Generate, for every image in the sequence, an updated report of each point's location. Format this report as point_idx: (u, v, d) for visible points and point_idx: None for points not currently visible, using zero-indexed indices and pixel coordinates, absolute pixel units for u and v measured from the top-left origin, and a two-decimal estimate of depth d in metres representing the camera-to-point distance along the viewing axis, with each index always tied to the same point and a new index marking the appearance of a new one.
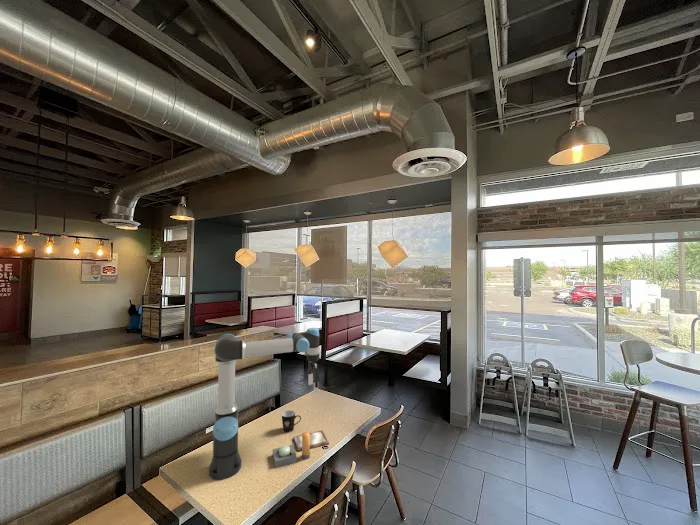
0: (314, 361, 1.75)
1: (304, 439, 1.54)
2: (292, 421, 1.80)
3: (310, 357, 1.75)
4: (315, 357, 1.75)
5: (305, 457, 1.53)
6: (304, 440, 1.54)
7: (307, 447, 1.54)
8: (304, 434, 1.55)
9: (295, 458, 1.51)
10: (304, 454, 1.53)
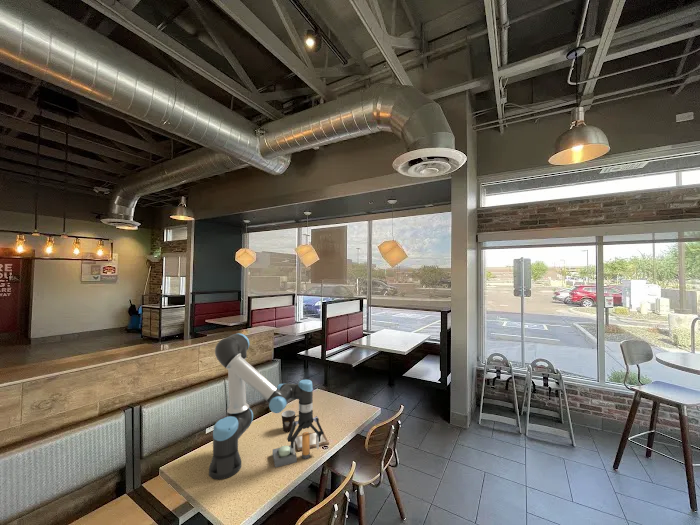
0: None
1: (304, 439, 1.54)
2: (292, 421, 1.80)
3: None
4: (299, 414, 1.54)
5: (305, 457, 1.53)
6: (304, 440, 1.54)
7: (307, 447, 1.54)
8: (304, 434, 1.55)
9: (295, 458, 1.51)
10: (304, 454, 1.53)
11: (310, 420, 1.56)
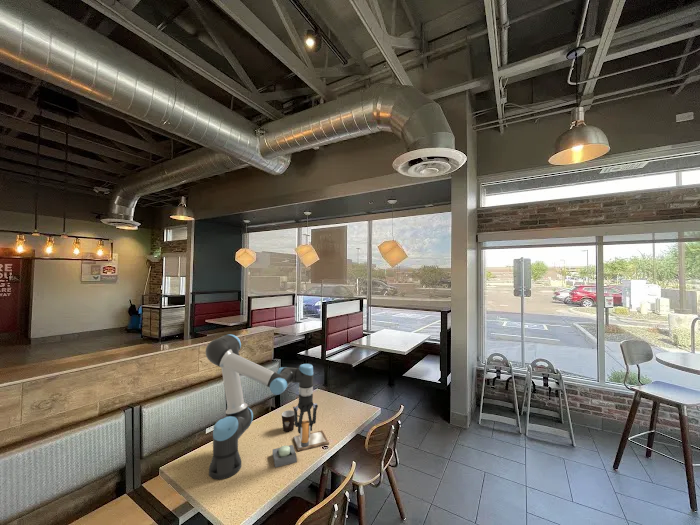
0: None
1: (303, 427, 1.54)
2: (292, 421, 1.80)
3: None
4: (299, 398, 1.54)
5: (304, 445, 1.53)
6: (303, 428, 1.54)
7: (306, 435, 1.54)
8: (303, 422, 1.55)
9: (295, 458, 1.51)
10: (303, 442, 1.53)
11: (310, 404, 1.56)
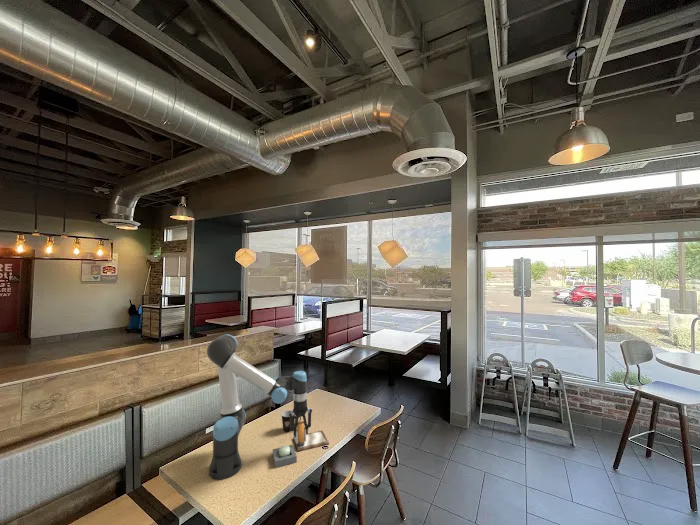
0: None
1: (299, 427, 1.62)
2: None
3: None
4: (294, 403, 1.63)
5: (300, 444, 1.62)
6: (299, 428, 1.62)
7: (302, 435, 1.62)
8: (299, 423, 1.64)
9: (295, 458, 1.51)
10: (299, 442, 1.62)
11: (304, 409, 1.65)
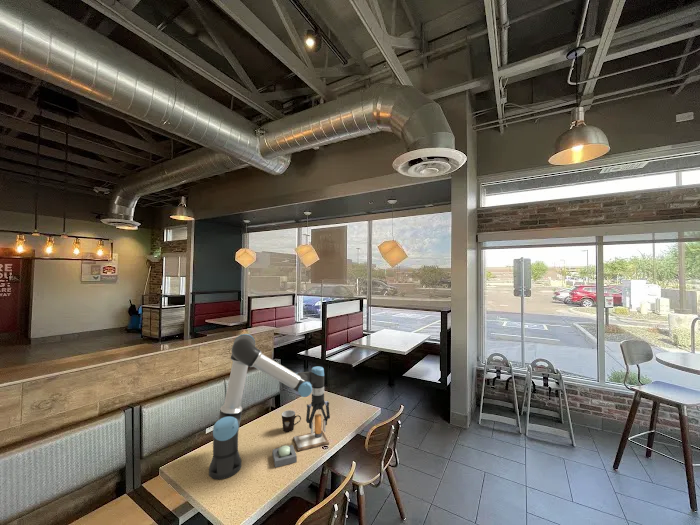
0: None
1: (317, 420, 1.71)
2: (292, 421, 1.80)
3: None
4: (312, 397, 1.72)
5: (318, 436, 1.71)
6: (317, 421, 1.71)
7: (319, 427, 1.71)
8: (316, 415, 1.73)
9: (295, 458, 1.51)
10: (317, 433, 1.71)
11: (322, 402, 1.74)
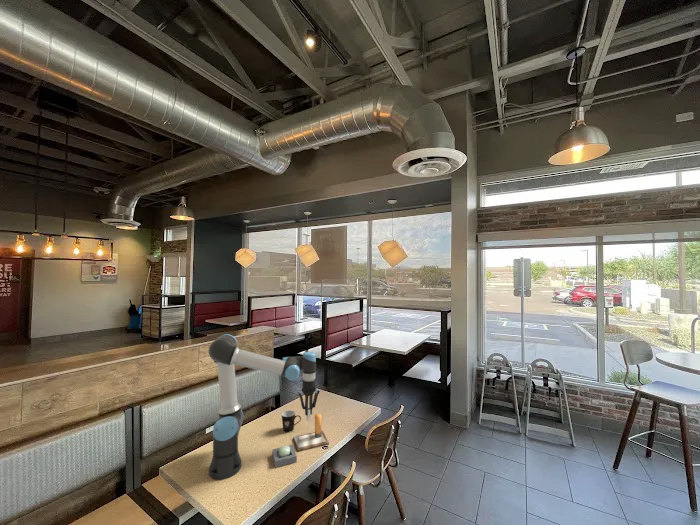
0: None
1: (317, 420, 1.71)
2: (292, 421, 1.80)
3: None
4: (303, 383, 1.67)
5: (318, 436, 1.71)
6: (317, 421, 1.71)
7: (319, 427, 1.72)
8: (316, 415, 1.73)
9: (295, 458, 1.51)
10: (317, 433, 1.71)
11: (313, 388, 1.69)
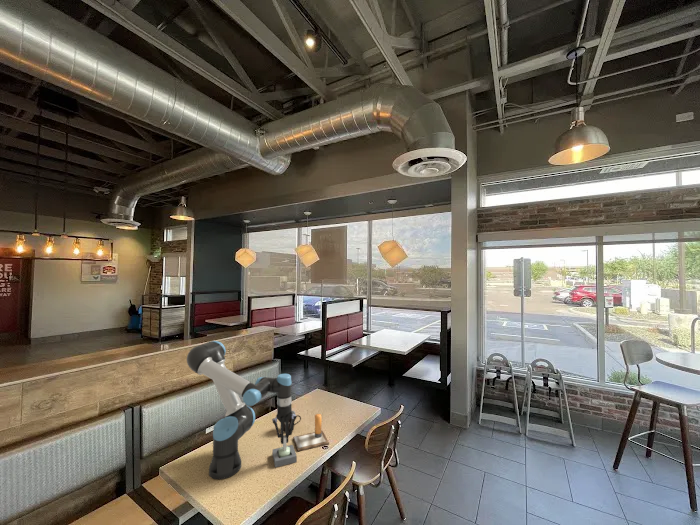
0: (277, 412, 1.53)
1: (317, 420, 1.71)
2: None
3: None
4: (277, 408, 1.53)
5: (318, 436, 1.71)
6: (317, 421, 1.71)
7: (319, 427, 1.71)
8: (317, 415, 1.73)
9: (295, 458, 1.51)
10: (317, 433, 1.71)
11: (289, 414, 1.54)
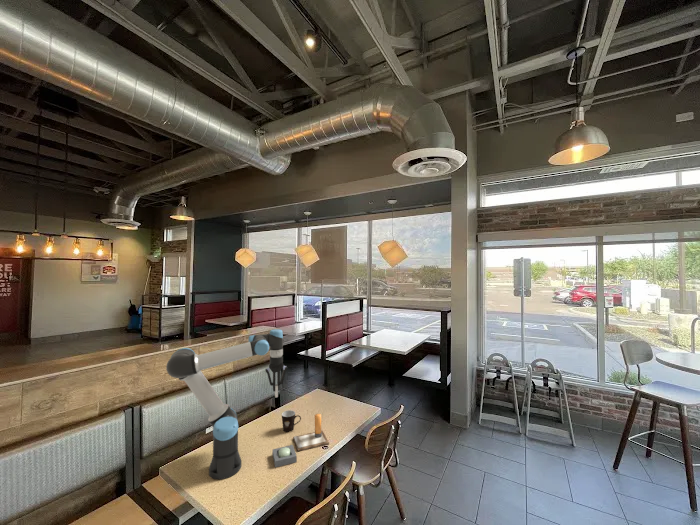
0: None
1: (317, 420, 1.71)
2: (292, 421, 1.80)
3: None
4: (270, 359, 1.69)
5: (318, 436, 1.71)
6: (317, 420, 1.71)
7: (319, 427, 1.72)
8: (316, 415, 1.73)
9: (295, 458, 1.51)
10: (317, 433, 1.71)
11: (280, 365, 1.70)
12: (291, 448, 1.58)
